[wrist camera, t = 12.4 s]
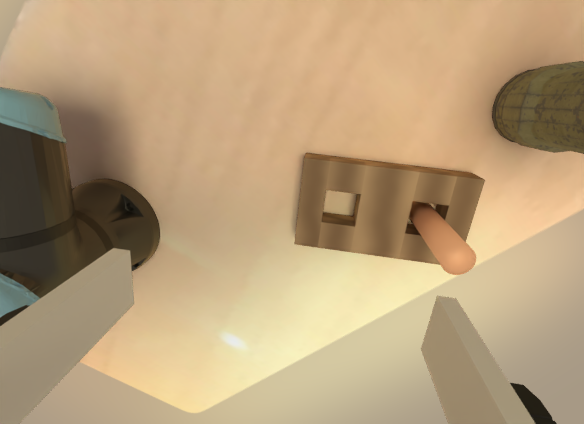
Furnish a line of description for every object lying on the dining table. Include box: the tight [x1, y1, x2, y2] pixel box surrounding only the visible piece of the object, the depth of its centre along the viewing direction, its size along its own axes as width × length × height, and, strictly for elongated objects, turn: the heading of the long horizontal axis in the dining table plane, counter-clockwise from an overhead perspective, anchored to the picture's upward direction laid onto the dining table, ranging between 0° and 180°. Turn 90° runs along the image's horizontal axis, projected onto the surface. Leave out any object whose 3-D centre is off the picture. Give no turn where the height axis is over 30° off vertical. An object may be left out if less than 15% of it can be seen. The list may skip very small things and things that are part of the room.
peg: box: [409, 201, 476, 275], centre depth 38 cm, size 3×3×15 cm
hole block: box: [294, 153, 485, 265], centre depth 44 cm, size 22×12×4 cm, turn 84°
